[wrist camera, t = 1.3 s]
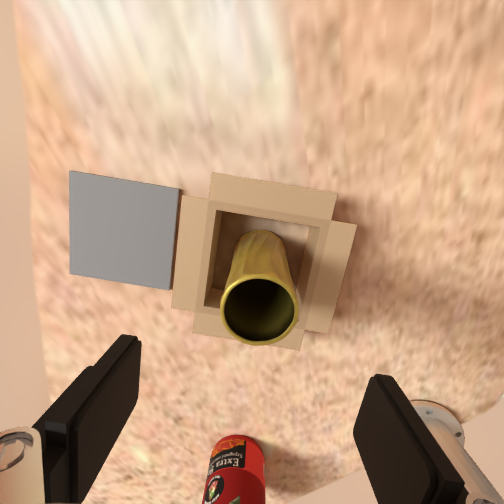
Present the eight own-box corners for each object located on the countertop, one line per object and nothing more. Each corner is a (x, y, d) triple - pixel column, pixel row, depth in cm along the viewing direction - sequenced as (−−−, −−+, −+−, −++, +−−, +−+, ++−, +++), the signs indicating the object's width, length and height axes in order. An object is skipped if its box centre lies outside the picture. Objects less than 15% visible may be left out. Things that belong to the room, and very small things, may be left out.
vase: (293, 268, 32) (319, 334, 18) (246, 287, 32) (235, 364, 19) (273, 221, 30) (284, 252, 17) (224, 242, 31) (196, 288, 17)
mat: (170, 288, 33) (169, 290, 32) (72, 272, 33) (69, 273, 32) (179, 189, 30) (178, 189, 29) (72, 170, 30) (69, 170, 29)
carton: (313, 329, 34) (323, 354, 29) (182, 308, 33) (169, 329, 28) (347, 195, 29) (364, 198, 25) (197, 170, 29) (184, 167, 24)
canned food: (242, 424, 37) (234, 519, 27) (275, 460, 39) (281, 565, 28) (200, 449, 39) (177, 549, 28) (234, 483, 40) (225, 591, 30)
